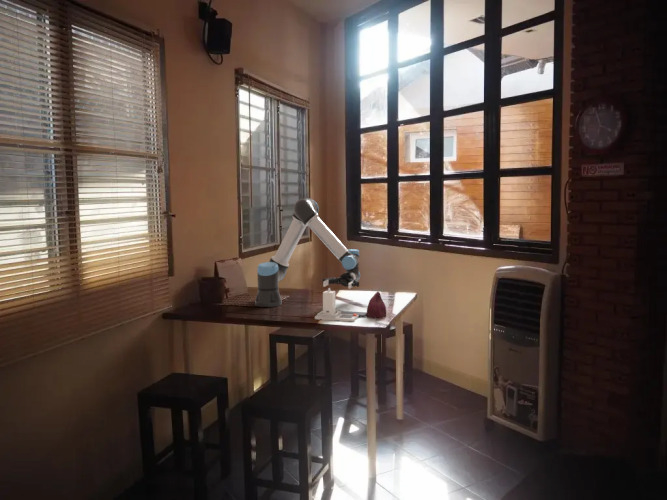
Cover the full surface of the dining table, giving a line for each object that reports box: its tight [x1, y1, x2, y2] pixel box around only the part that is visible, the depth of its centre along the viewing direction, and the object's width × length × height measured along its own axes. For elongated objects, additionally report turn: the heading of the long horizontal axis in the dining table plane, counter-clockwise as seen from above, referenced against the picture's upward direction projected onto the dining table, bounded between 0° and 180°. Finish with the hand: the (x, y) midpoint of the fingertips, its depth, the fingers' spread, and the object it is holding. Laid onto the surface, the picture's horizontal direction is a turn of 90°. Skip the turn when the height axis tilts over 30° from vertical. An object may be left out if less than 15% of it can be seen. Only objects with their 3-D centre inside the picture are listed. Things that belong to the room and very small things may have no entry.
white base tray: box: [314, 309, 360, 322], centre depth 256 cm, size 20×10×3 cm, turn 73°
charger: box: [322, 287, 337, 315], centre depth 257 cm, size 5×5×14 cm
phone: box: [340, 310, 367, 318], centre depth 263 cm, size 7×14×1 cm, turn 73°
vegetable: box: [366, 291, 387, 319], centre depth 259 cm, size 10×10×15 cm
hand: (336, 285), depth 265 cm, fingers open, 13 cm apart
